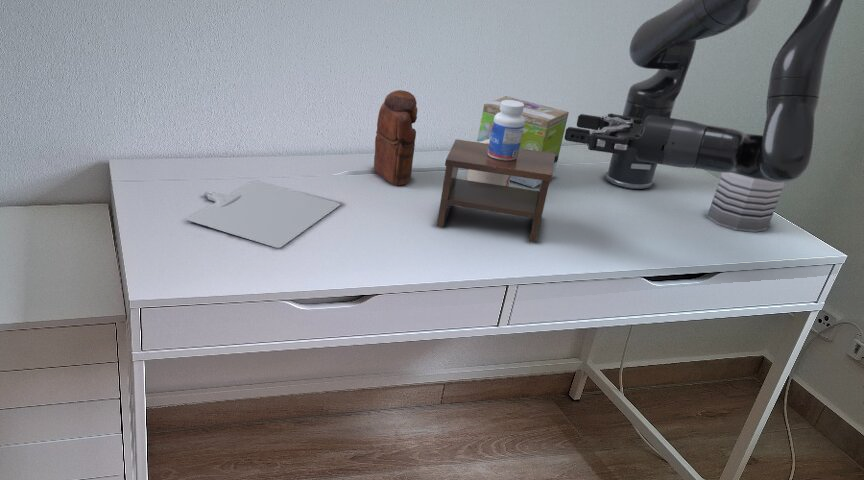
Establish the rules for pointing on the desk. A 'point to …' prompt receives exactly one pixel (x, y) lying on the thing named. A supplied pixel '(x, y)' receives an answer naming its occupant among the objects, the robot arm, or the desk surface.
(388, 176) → the wooden figurine
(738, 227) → the can
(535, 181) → the tea box
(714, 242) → the desk surface
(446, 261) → the desk surface
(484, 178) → the teacup with lid
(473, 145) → the walnut stand
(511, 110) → the pill bottle
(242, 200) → the grey clipboard
